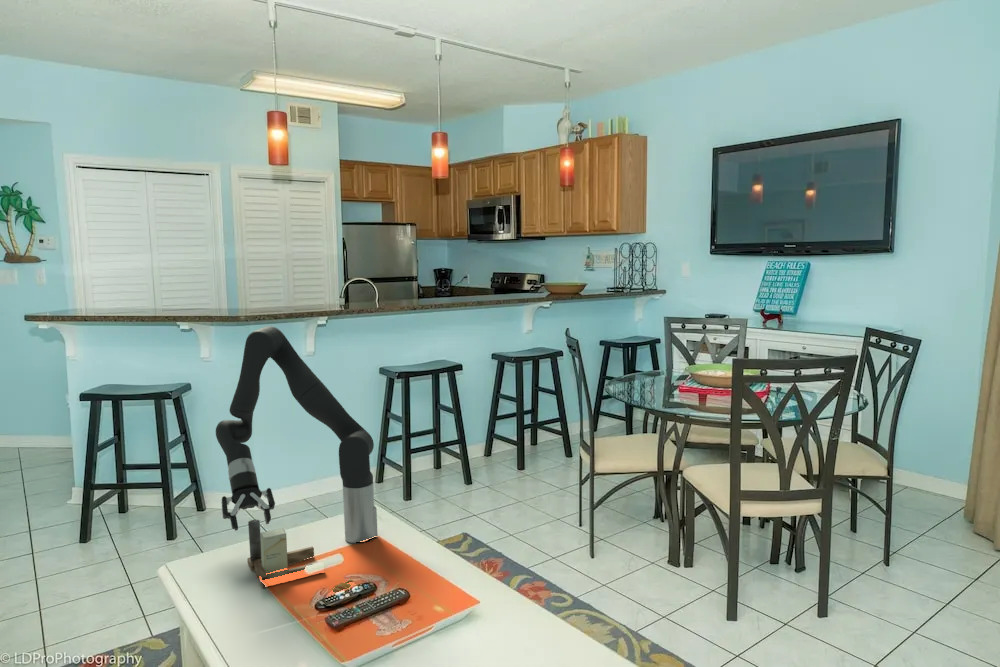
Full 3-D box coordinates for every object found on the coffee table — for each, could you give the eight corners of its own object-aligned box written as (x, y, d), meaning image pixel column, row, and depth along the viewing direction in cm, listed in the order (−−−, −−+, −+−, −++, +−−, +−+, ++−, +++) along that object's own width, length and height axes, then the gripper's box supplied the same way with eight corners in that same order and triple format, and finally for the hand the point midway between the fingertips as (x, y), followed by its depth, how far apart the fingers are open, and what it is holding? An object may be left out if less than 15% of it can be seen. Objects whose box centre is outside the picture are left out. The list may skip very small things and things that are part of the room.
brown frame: (307, 549, 193) (305, 508, 192) (325, 572, 178) (322, 528, 176) (247, 563, 185) (245, 520, 184) (260, 589, 169) (257, 543, 168)
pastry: (335, 612, 157) (335, 597, 157) (316, 605, 161) (315, 591, 161) (363, 596, 165) (362, 581, 165) (344, 589, 169) (343, 575, 169)
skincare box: (265, 581, 174) (262, 538, 172) (261, 575, 177) (259, 532, 176) (289, 575, 177) (286, 532, 176) (285, 569, 181) (283, 527, 179)
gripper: (218, 475, 189) (226, 525, 180) (268, 466, 196) (279, 514, 187) (216, 487, 194) (225, 537, 185) (266, 478, 201) (276, 526, 192)
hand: (252, 526), depth 186 cm, fingers open, 8 cm apart
